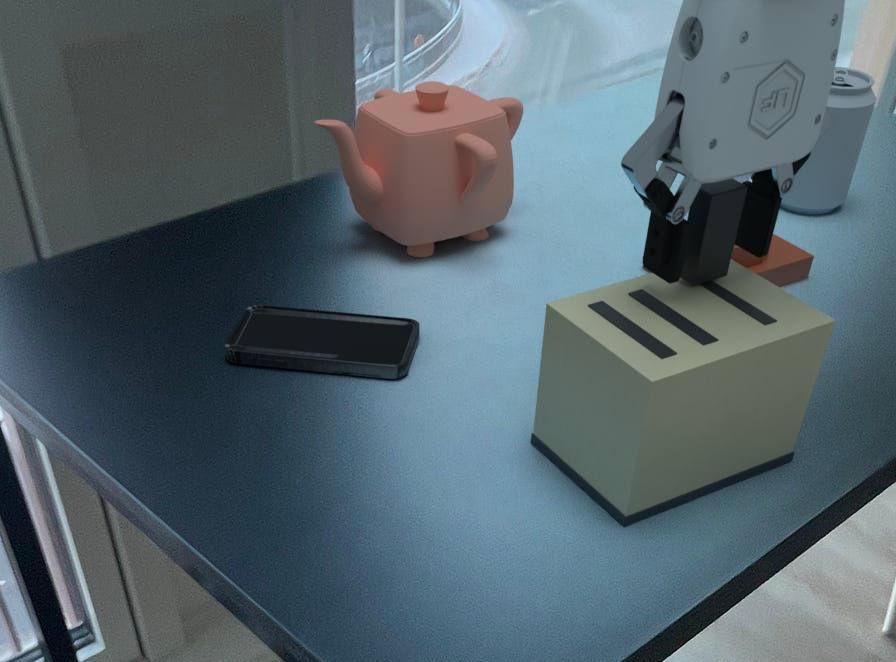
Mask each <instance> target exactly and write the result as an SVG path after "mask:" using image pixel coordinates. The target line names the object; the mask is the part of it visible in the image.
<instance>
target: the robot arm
mask: <svg viewBox="0 0 896 662" xmlns="http://www.w3.org/2000/svg"><path fill="white" fill-rule="evenodd" d="M845 4H846V0H682V2H681V5H680V8H679V11H678V15H677V18H676V22H675V24H674V29H673V33H672V36H671V40H670V43H669V47H668V51H667V55H666V59H665V63H664V67H663V72H662V76H661V81H660V85H659V89H658V95H657V99H656V106H655V112H654V119H653V121H652V122H651V123H650V125H649V126H648V127H647V128H646V129H645V130H644V132H643V133H642V134H641V136H639V138H638V139H637V140H636V141H635V142H634V144H633V145H632V146H631V147H630V148H629V149H628V150H627V151H626V153H625V154H624V155H623V157H622V158H621V161H620V166H621V169H622V170H623V172H624V174H625V175H626V177H627V178H628V180H629V181H630V183H631V184H632V185H633V190H634V192H635V193H636V194H637V195H638V197H639V198H640V200H641V201H642V204H643V207H644V208H645V209H647V210H649V211H650V213H649V214H650V215H649V221H648V225H647V232H646V237H645V244H644V250H643V256H642V267H643V266H644V267H645V268H646V269H647V270H649V271H650V272H652V273H654V274H655V275H657V276H658V277H660V278H661V279H663V280H664V281H666V282H668V283H670V284H671V283H674V282H677V281H679V279H680V277H681V273H682V269H683V264H684V259H685V254H686V249H687V244H688V239H689V234H690V229H691V225H690V224H691V223H690V222H689V221H687V219H685V217H686V215H688V214H687V213H689V208H690V206H691V204H692V202H693V201H694V199H695V197H696V195H697V193H698V191H699V189H700V187H701V186H702V184H703V183H714V182H719V181H723V180H728V179H732V178H736V177H740V176H744V175H748V174H750V180H751V181H750V180H749V181H745V182H742V184H744V185H746V186H748V188H747V193H746V197H745V201H744V205H743V210H742V214H741V218H740V222H739V227H738V231H737V235H736V239H735V245H737V246H738V247H740V248H742V249H744V250H745V251H747V252H749V253H751V254H752V255H754V256H756V257H758V258H759V257H763V256H766V255H767V254H768V251H769V247H770V244H771V240H772V236H773V234H774V231H775V228H776V224H777V221H778V216H779V212H780V210H781V206H780V205H781V202H782V198H781V197H780V196H781V195H786V194H788V193H789V192H790V190H791V189H792V187H793V184H794V175H795V174H796V173H797V172H798V171H799V169H800V168H801V167H802V166H803V165H804V163H805V162H806V161H807V160H808V158H809V157H810V155H811V150H812V149H813V148H814V146H815V145H816V144H817V143H818V141H819V140H820V139H821V137H822V136H823V135H824V133H825V132H826V131H827V129H828V128H829V127H830V125H831V123H832V115H831V113H830V112H829V110H828V109H827V107H826V106H827V102H828V97H829V93H830V88H831V84H832V79H833V75H834V70H835V67H836V65H837V61H838V54H839V49H840V48H839V47H840V42H841V36H842V30H843V22H844V14H845V6H846V5H845ZM659 161H660V162H661V163H660V166H659V167H658V169H657V164H658V162H659ZM678 174H679V175H681V176H683V178H682V180H681V182H680V184H679V186H678V188H677V190H676V192H675V194H674V193H673V192H672V191H671V188H672V186H673V183H674V182H675V180H676V178H677V176H678Z"/></svg>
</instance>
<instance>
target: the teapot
mask: <svg viewBox="0 0 896 662" xmlns="http://www.w3.org/2000/svg"><path fill="white" fill-rule="evenodd" d="M414 88H415V89H413V90H408V91H403V92H398V91H396V90H393V89H391V88H382V89H379V90H377V91H376V92H375V94H374V96H373V99H372V100H369V101H365V102H363V103H361V104H360V105H359V106H358V109H357V114H356V117H355V123H354V128H353V131H352V129H351V128H350V126H349V125H348V124H347V123H346V122H343V121H342V120H338V119H317V120H314V124H315V125H316V126H319V127H320V128H323V129H325V130H326V131H327V132H328V133H329V134H330V135H331V136H332V137H333V139H334V141H335V143H336V146H337V150H338V155H339V156H338V157H339V160H340V161H339V162H340V167H341V172H342V176H343V179H344V181H345V183H346V185H347V187H348V188H349V189H348V191H349V195H350V199H351V202H352V206H353V207H354V210H355V213H356V214H358V215H359V216H360V217H361V218H362V219H363V220H364V221H366V222H367V223H369V225H371V227H372V229H373V230H375V231H376V232H381V233H382V234H383V235H385V236H387V237H388V238H390V239H391V240H393V241H395V242H396V243H398V244H400V245H401V246H402V245H403V246H407V247H406V253H407V255H409V256H411V257H414V258H427V257H430V256H432V255H434V254H435V243H436V242H441V241H445V240H446V241H447V240H450V239H454V238H458V237H461V236H462V238H463V239H465V240H468V241H473V242H480V241H481V242H482V241H485V240H487V239H488V238H489V237H490V234H489V232H488V230H487V228H489V227H491V226H494V225H496V224H498V223H501V222H502V221H505V219H506V218H507V216H508V214H509V212H510V209H511V206H512V203H513V200H514V191H515V190H514V189H515V183H514V182H515V181H514V180H515V177H514V175H515V173H514V172H515V171H514V156H513V147H512V140H513V139H514V137H515V135H516V133H517V131H518V129H519V128H520V125H521V122H522V119H523V114H524V105H523V103H522V101H521V100H519V99H518V98H515V97H513V96H504V97H498V98H494V99H490V100H487V99H486V98H483V97H482V96H479V95H477V94H475V93H473V92H471V91H469V90H467V89H465V88H462V87H460V86H459V85H458V86H457V85H455V84H454V85H453V84H446V83H444V82H441V81H435V80H433V81H432V80H431V81H423V82H420V83H418V84H416V85H415V87H414Z"/></svg>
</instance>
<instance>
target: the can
mask: <svg viewBox="0 0 896 662" xmlns="http://www.w3.org/2000/svg"><path fill="white" fill-rule="evenodd" d="M875 82H876V81H875V79H874V77H873V76H872V75H871V74H869V73H867V72H864V71H862V70H859V69H855V68H850V67H843V66H835V70H834V75H833V79H832V84H831V88H830V93H829V97H828V102H827V106H826V107H827V109H828V110H829V112H830V113H831V115H832V123H831V125H830V127H829V128H828V129H827V131H826V132H825V133H824V135H823V136H822V137H821V139H820V140H819V141H818V143H817V144H816V145H815V146H814V148H813V149H812V150H811V155H810V157H809V158H808V160H807V161H806V162H805V163H804V165H803V166H802V167H801V168H800V169H799V171H798V172H797V173H796V174H795V175H794V184H793V187H792V189H791V190H790V192H789V193H788V194H786V195H781V196H780V197H781V198H782V202H781V205H780V207H781V208H783V209H785V210H788V211H791V212H794V213H797V214H803V215H822V214H827V213H830V212H832V211H834V209H835V208H837V207H839V206H841V205H842V204H844V203H845V202H846V199H847V197H848V193H849V190H850V187H851V183H852V179H853V178H854V177H853V176H854V173H855V171H856V167H857V164H858V162H859V161H858V160H859V157H860V154H861V151H862V148H863V144H864V141H865V137H866V135H867V131H868V128H869V125H870V121H871V118H872V114H873V111H874V108H875V106H876V101H877V97H876V95H875V92H874V90H873V88H872V87H873V86H874V84H875Z"/></svg>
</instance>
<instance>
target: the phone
mask: <svg viewBox="0 0 896 662" xmlns="http://www.w3.org/2000/svg"><path fill="white" fill-rule="evenodd" d="M420 325H421V324H420V323H419V321H417V320H416V319H413V318H407V317H397V316H386V315H375V314H365V313H353V312H342V311H332V310H321V309H311V308H310V309H309V308H299V307H289V306H277V305H266V304H255V305H250V306H248V307H246V309H245V310H243V313H242V315H241V317H240V318H239V319H238V321H237V323H236V325H235V326H234V328H233V330H232V331H231V333H230V334H229V336H228V337H227V339H226V341H225V343H224V349H225V356H226V359H227V360H228V361H229V362H230V363H232V364H239V365H246V366H247V365H248V366H256V367H257V366H258V367H267V368H278V369H287V370H298V371H307V372H316V373H317V372H318V373H319V372H320V373H329V374H339V375H347V376H358V377H360V376H361V377H368V378H378V379H388V380H396V379H401V378H404V377H405V376H406V375H407V374H408V372H409V370H410V368H411V364H412V361H413V359H414V355H415V352H416V349H417V346H418V344H419V341H420V336H421V335H420V333H421V332H420V331H421V330H420V329H421V328H420Z"/></svg>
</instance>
